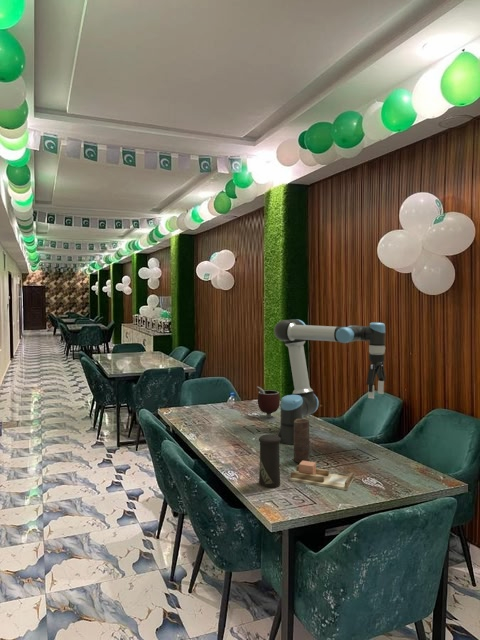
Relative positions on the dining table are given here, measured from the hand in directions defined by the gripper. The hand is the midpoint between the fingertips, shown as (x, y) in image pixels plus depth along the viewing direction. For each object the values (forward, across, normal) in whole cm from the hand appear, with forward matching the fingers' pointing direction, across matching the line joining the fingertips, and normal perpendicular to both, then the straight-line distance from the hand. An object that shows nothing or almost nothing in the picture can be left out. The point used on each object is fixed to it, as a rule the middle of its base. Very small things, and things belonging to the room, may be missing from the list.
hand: (375, 396), depth 231 cm
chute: (+27, -52, +4) cm, 59 cm away
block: (+26, -53, +10) cm, 60 cm away
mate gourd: (+28, +18, +76) cm, 83 cm away
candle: (+27, -38, +21) cm, 51 cm away
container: (+27, -68, +19) cm, 76 cm away
